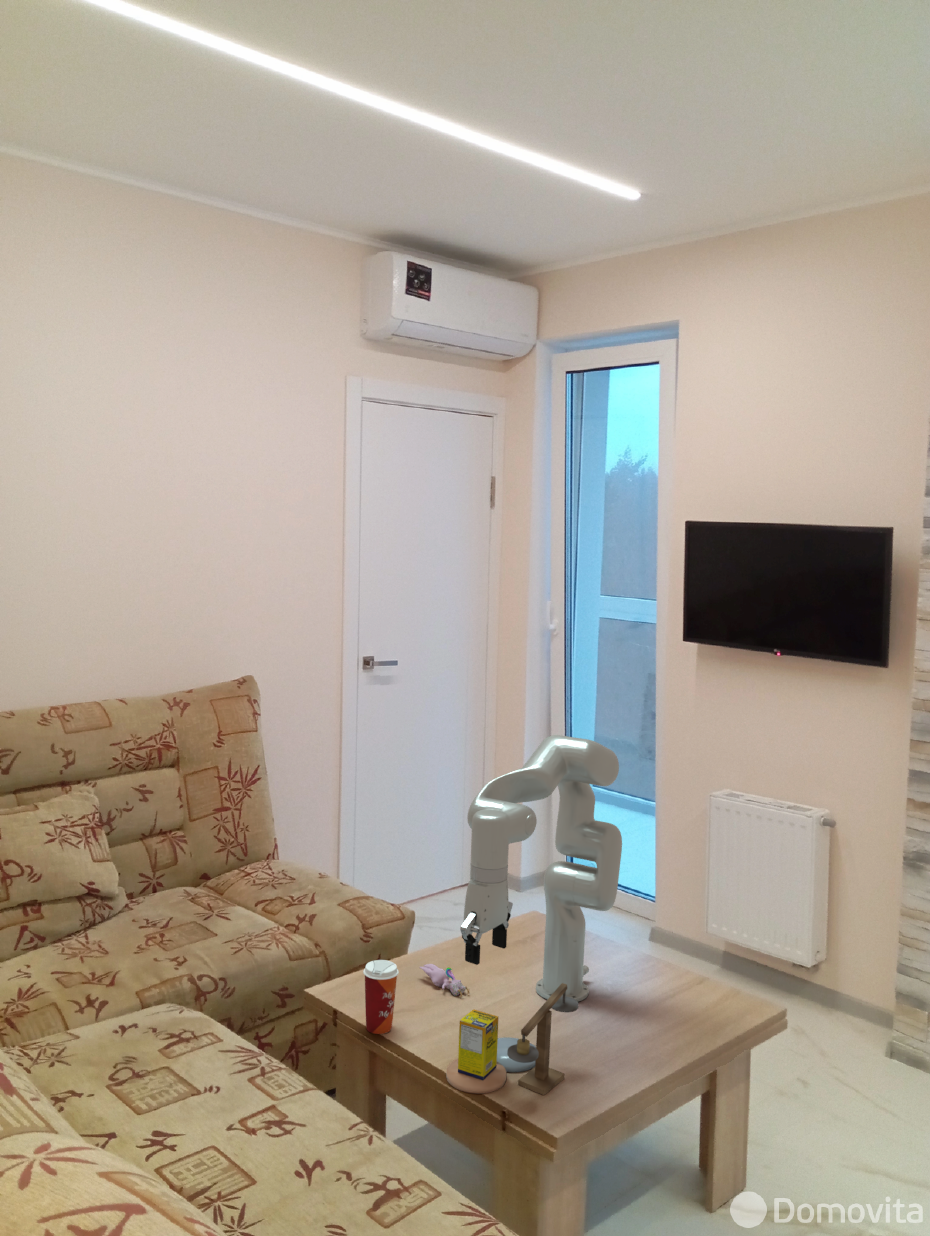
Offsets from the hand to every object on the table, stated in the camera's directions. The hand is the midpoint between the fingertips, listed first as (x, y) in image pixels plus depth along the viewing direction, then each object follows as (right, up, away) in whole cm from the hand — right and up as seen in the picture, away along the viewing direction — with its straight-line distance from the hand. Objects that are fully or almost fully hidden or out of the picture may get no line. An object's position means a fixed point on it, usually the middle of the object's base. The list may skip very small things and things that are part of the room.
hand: (485, 954), depth 203 cm
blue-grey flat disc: (+5, -24, +7) cm, 25 cm away
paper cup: (-23, -22, +17) cm, 36 cm away
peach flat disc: (-2, -24, -2) cm, 24 cm away
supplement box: (-2, -23, -2) cm, 23 cm away
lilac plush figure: (-10, -21, +38) cm, 45 cm away
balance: (+11, -25, -2) cm, 27 cm away
